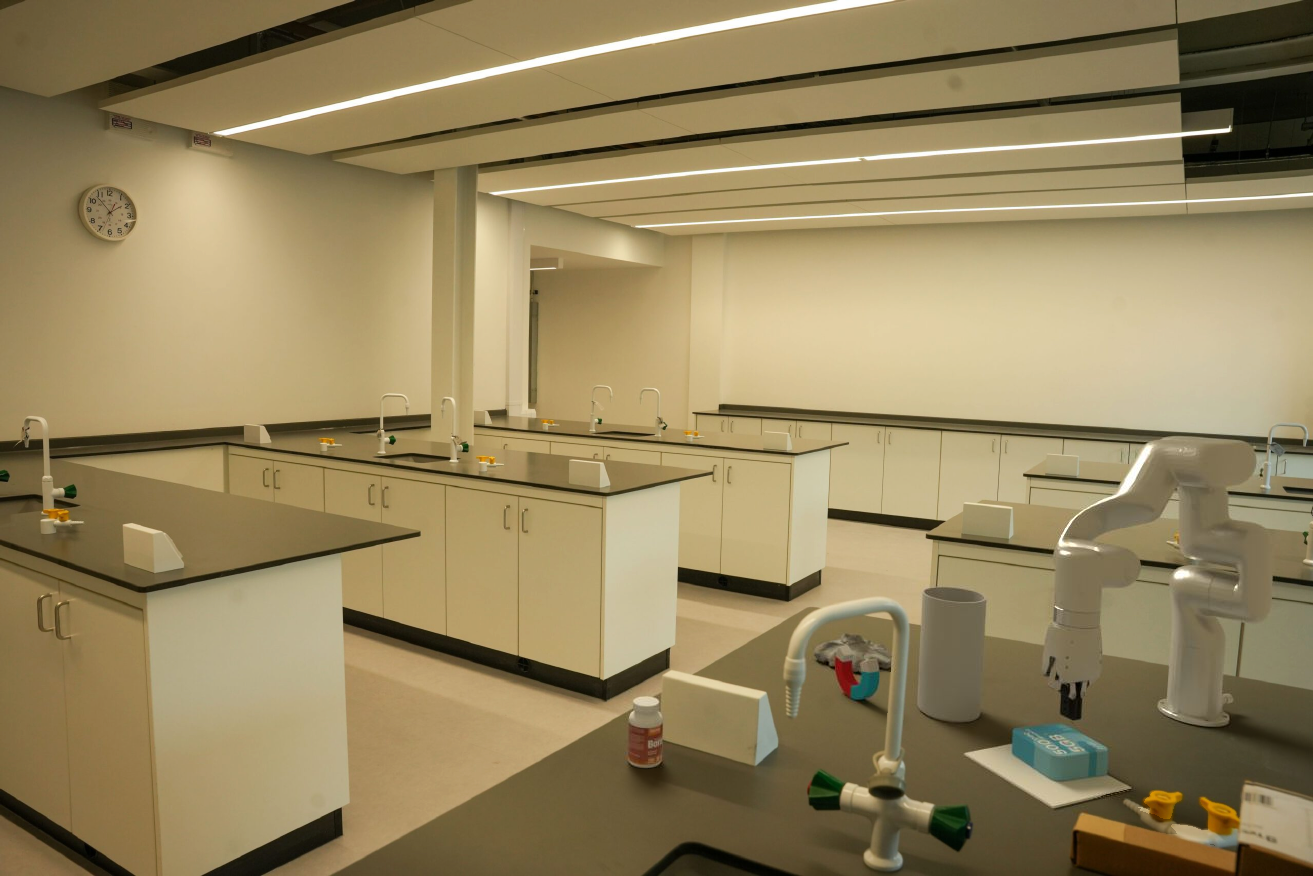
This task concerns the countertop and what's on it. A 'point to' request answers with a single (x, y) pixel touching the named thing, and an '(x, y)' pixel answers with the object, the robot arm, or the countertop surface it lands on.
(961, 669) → the cylinder vase
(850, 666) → the magnet
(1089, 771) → the data package
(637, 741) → the pill bottle
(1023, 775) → the mat
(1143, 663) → the countertop surface
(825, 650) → the fossil
